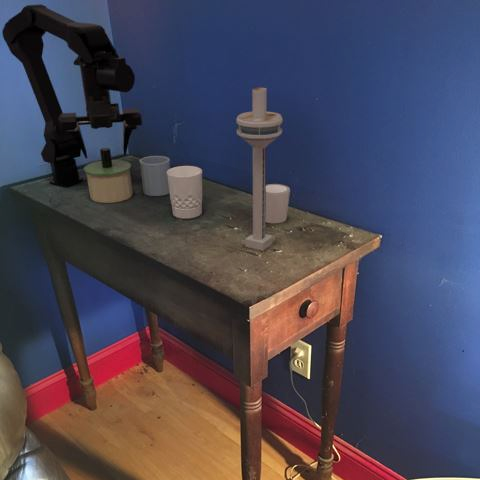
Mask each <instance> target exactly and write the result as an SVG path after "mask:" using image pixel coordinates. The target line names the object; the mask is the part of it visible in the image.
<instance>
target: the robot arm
mask: <svg viewBox="0 0 480 480" xmlns="http://www.w3.org/2000/svg"><path fill="white" fill-rule="evenodd" d="M46 33H48V34H51V35H52V36H54V37H56V38H59V39H61V40H63V41H64V42H66V44H67V47H68V49H69V50H71V51H72V52H73V53H74V54H76V55H77V57H76V58H75V59H74V60H73V65H74V66H78V67H79V68H80V69H79V70H80V75H81V81H82V89H83V96H84V101H85V111H86V115H82V116H81V115H80V116H79V115H78V116H77V113H76V112H63V109H62V107H61V104H60V102H59V99H58V96H57V93H56V91H55V88H54V86H53V83H52V80H51V77H50V75H49V73H48V69H47V67H46V65H45V62H44V59H43V53H44V47H45V44H44V40H43V37H44V35H45V34H46ZM1 34H2V37H3V40H4V42H5V43H6V45H7V48H8V49H9V52H10V54H12V56H13V57H15V58H16V59H17V60H18V61H19V62H20V63H21V64H22V66H23V69H24V71H25V74H26V76H27V79H28V82H29V84H30V87H31V89H32V92H33V94H34V97H35V99H36V103H37V104H38V107H39V110H40V112H41V115H42V118H43V120H44V123H45V124H44V129H43V137H44V141H45V144H44V146H43V148H42V150H41V152H40V155H41V158H42V161H43V162H44V163H48V164H50V169H51V173H52V178H53V179H52V180H49V184H50V185H51V184H52V185H55V186H61V187H63V188H65V187H66V188H67V187H70V186H73V185H74V184H77V183H79V182H82V181H84V178H83V177H80V175H79V169H78V165H77V162H76V158H80V157H81V155H82V154H83V156H84V158H85V159H88V152H87V148H86V145H85V141H84V138H83V134H82V131H81V127H80V126H84V125H86V126H87V125H90V128H91V129H93V130H98V129H102V128H103V129H104V128H106V129H110V128H112V127H113V124H114V123H122V149H123V155H124V156H126V155H127V151H128V148H129V147H128V146H129V141H130V137H131V135H132V132H133V131H134V130H137V129H138V128H137V127H138V126H142V125H143V119H142V113H141V112H140V110H139V109H138V108H124V109H123V108H122V113H120V105H119V103H117V102H115V103H114V102H113V103H112V100H111V93H110V92H111V91H113V92H119V93H129V92H130V91H132V89H133V88H134V85H135V80H136V76H135V73H134V71H133V68H131V65H128V64H127V61H126V60H127V59H126V57H120V56H119V53H118V52H117V49H116V48H115V46H114V45H113V43H112V41H111V40H110V38H109V36H108V34H107V33H106V30H105V28H104V27H103V26H102V25H100V24H95V23H91V22H78V21H75V20H73V19H71V18H69V17H67V16H64V15H63V14H61V13H59V12H56V11H54V10H52V9H50V8H48V7H47V6H46V5H44V4H41V3H40V4H27V5H25V6H24V7H23V8H22V9H21V10H20V12H18V13H17V14H14V16H12V17H11V18H9V19H8V21H6V23H5V24H4V26H3V28H2V33H1Z"/></svg>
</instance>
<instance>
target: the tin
mask: <svg viewBox="0 0 480 480" xmlns="http://www.w3.org/2000/svg"><path fill="white" fill-rule="evenodd" d="M85 174H86V179H87V185H88V190H89V192H88V193H89V197H90V199H91V201H93V202H96V203H100V204H113V203H114V204H115V203H119V202H123V201H126V200H128V199H130V198H131V197H132V196H133V186H132V178H131V177H132V176H131V169H130V170H128V171H126V172H124V173H121V174H116V175H109V176H95V175H90V174H87V173H85Z"/></svg>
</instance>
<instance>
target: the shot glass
mask: <svg viewBox="0 0 480 480" xmlns="http://www.w3.org/2000/svg"><path fill="white" fill-rule="evenodd" d="M290 194H291V188H290V187H289V186H288V185H285V184H279V183H270V184H266V209H265V223H267V224H280V223H284V222H286V220H287V218H288V209H289V204H290V203H289V202H290Z"/></svg>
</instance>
